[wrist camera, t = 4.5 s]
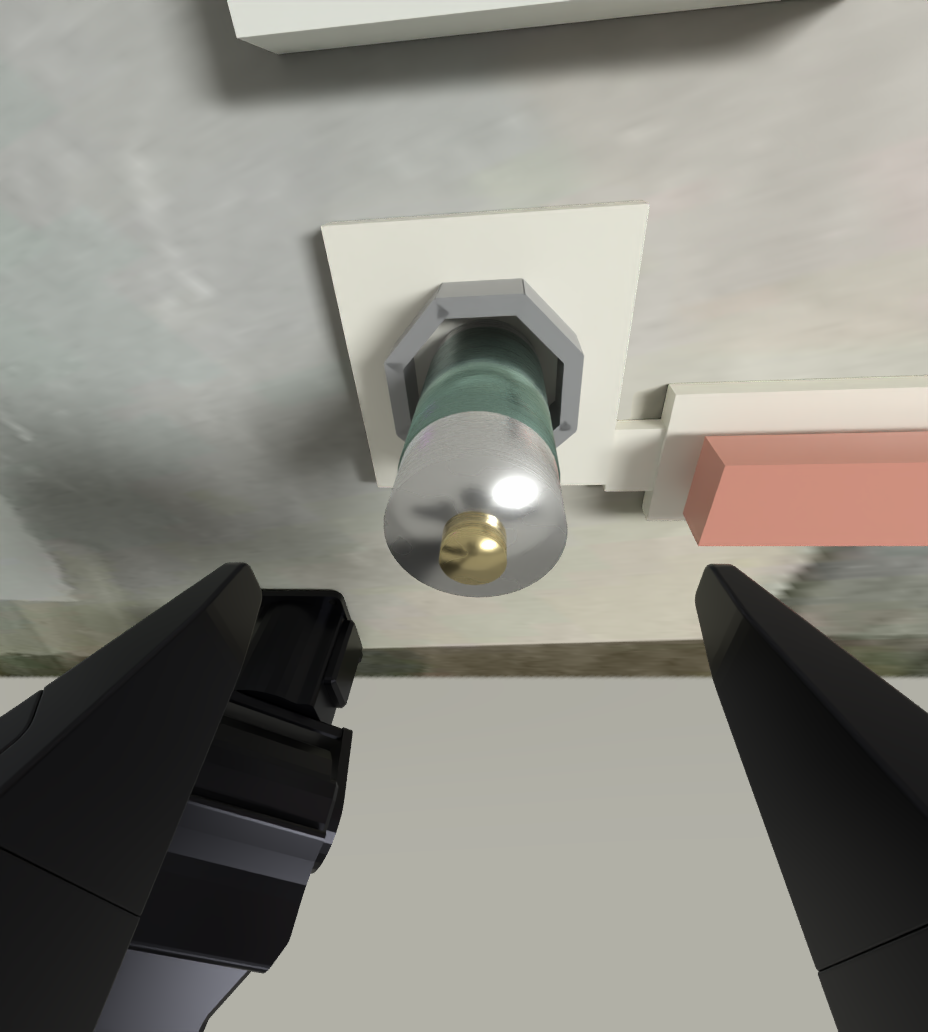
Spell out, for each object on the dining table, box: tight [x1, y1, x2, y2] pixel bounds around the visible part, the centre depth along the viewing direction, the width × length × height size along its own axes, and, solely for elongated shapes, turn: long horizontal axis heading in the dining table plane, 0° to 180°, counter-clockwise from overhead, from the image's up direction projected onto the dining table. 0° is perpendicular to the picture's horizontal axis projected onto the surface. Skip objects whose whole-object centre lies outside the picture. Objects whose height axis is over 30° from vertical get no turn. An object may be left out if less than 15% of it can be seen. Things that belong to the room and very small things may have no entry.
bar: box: [683, 431, 928, 546], centre depth 17 cm, size 12×4×2 cm, turn 94°
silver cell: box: [384, 319, 567, 597], centre depth 13 cm, size 4×4×10 cm
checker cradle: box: [321, 200, 928, 521], centre depth 17 cm, size 26×12×3 cm, turn 94°
